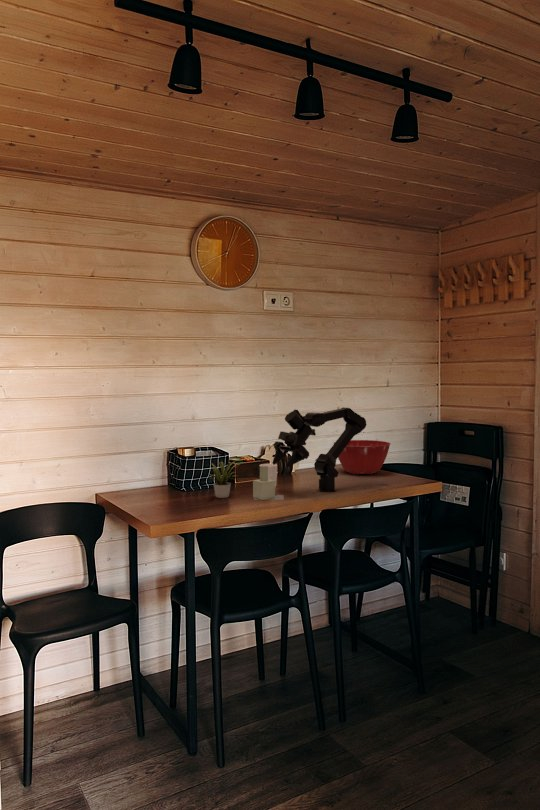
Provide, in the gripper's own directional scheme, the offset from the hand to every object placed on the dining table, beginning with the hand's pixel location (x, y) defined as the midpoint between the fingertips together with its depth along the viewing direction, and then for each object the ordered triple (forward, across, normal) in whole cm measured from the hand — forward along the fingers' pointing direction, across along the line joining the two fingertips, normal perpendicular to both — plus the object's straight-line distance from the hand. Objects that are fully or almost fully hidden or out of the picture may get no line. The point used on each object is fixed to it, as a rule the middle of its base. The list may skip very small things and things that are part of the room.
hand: (279, 465), depth 263 cm
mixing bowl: (-38, -23, +58) cm, 73 cm away
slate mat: (+14, +1, +5) cm, 15 cm away
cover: (+14, 0, +3) cm, 15 cm away
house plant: (+23, -12, -4) cm, 26 cm away
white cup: (+4, -21, +16) cm, 27 cm away
